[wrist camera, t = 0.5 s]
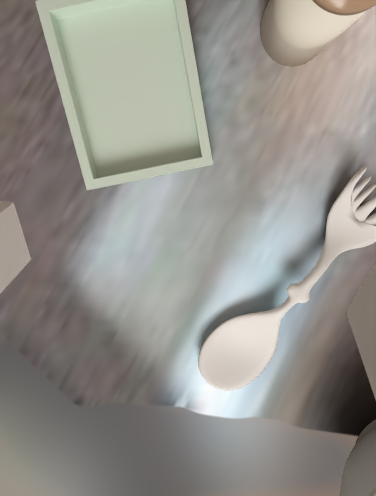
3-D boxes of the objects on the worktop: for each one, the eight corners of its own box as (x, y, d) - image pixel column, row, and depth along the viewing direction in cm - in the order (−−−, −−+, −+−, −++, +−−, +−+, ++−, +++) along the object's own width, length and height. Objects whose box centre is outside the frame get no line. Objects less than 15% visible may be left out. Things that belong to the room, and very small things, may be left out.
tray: (46, 14, 31) (35, 1, 29) (180, -16, 31) (179, -32, 28) (93, 189, 36) (86, 190, 33) (211, 165, 35) (213, 164, 33)
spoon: (402, 210, 37) (424, 214, 34) (234, 390, 43) (239, 408, 40) (350, 163, 36) (367, 163, 32) (184, 356, 41) (184, 372, 38)
